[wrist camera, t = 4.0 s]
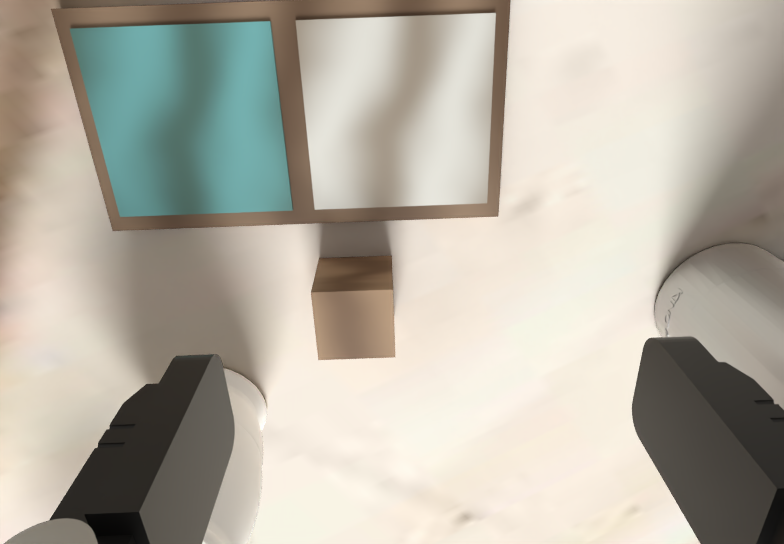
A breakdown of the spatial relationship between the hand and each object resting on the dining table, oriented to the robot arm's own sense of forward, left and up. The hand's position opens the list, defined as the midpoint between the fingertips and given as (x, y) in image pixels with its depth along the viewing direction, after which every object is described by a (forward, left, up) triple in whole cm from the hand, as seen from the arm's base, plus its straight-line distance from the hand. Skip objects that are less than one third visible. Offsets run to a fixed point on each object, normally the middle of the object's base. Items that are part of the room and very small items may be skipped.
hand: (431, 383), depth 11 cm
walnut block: (+3, +12, -26) cm, 29 cm away
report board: (+6, 0, -26) cm, 27 cm away
